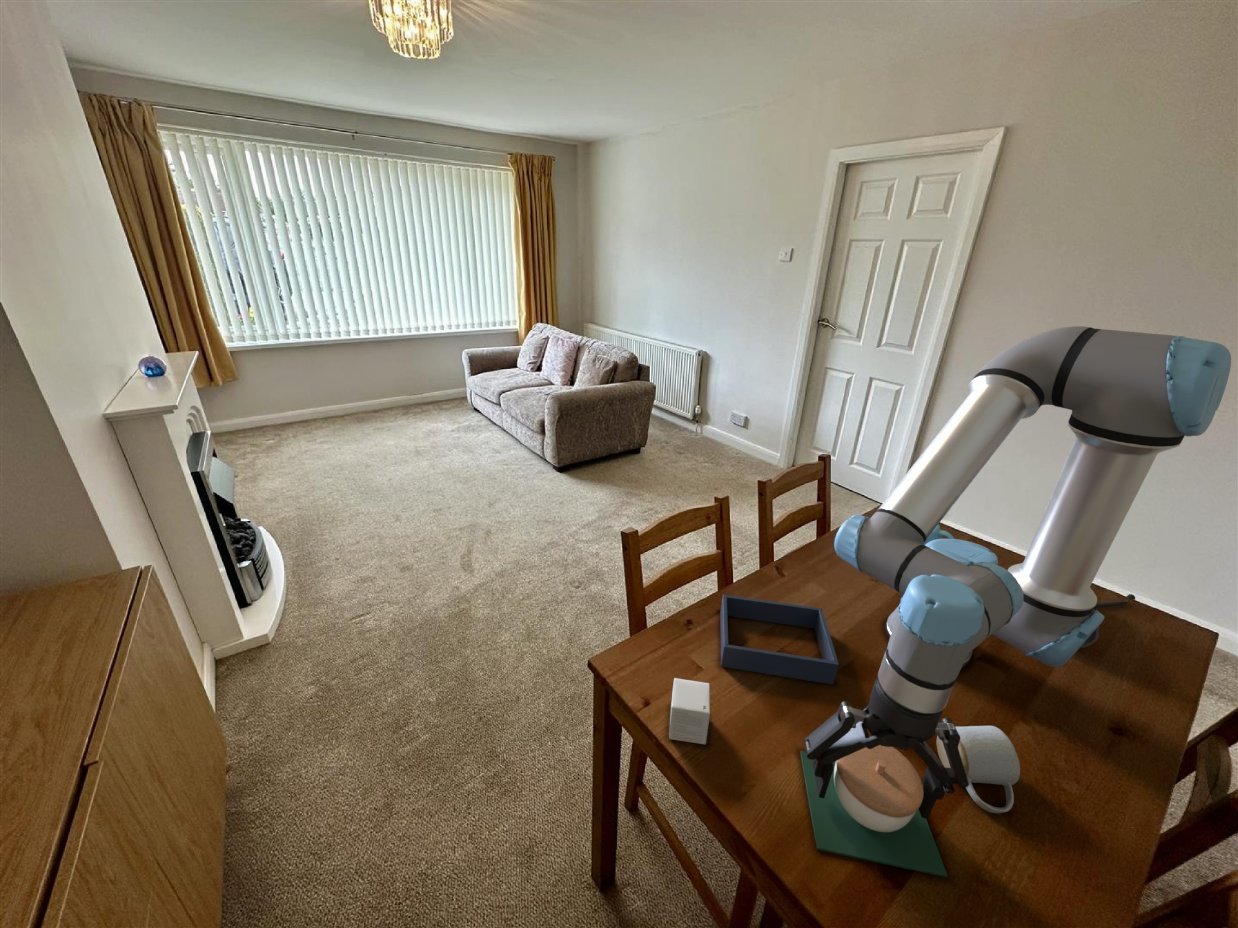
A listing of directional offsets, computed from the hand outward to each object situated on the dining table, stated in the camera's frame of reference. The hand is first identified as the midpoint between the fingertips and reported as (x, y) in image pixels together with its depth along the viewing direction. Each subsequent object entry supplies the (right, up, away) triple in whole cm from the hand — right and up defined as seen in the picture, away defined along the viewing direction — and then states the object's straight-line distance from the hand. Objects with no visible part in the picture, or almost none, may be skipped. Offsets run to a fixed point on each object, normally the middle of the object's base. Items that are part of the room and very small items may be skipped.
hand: (869, 798), depth 68 cm
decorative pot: (+40, +22, +60) cm, 76 cm away
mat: (0, -2, +1) cm, 2 cm away
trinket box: (0, -2, +1) cm, 2 cm away
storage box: (-5, +11, +29) cm, 32 cm away
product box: (-24, +4, +12) cm, 27 cm away
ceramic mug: (+19, -1, +5) cm, 20 cm away
